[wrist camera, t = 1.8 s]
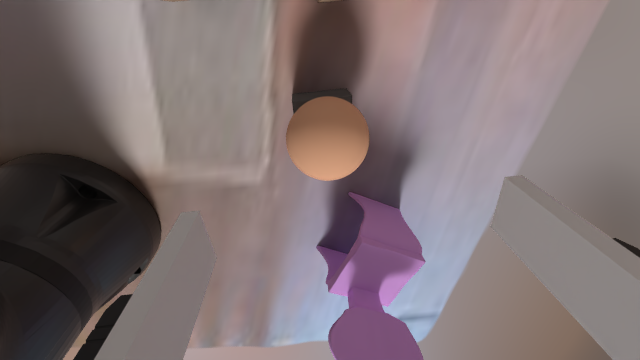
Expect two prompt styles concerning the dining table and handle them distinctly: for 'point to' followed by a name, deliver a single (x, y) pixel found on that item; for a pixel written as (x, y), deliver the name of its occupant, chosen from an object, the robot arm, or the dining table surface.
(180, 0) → the ramp with walled tray
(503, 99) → the dining table surface
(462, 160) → the dining table surface
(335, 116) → the ball
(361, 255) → the toy chair
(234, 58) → the dining table surface
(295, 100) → the square sleeve
